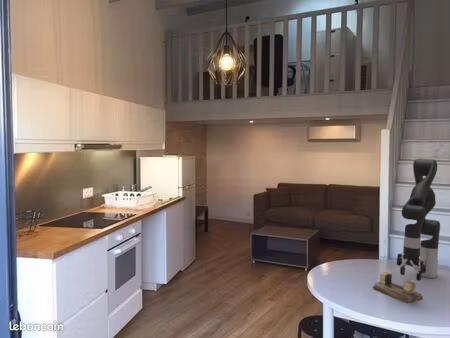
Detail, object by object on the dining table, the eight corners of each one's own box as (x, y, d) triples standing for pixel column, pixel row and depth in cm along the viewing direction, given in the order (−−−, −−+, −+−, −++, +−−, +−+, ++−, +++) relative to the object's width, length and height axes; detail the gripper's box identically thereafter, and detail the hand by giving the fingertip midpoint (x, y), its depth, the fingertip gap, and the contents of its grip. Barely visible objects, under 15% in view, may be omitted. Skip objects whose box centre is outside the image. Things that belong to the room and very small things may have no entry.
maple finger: (408, 297, 185) (409, 283, 185) (402, 295, 188) (403, 281, 188) (415, 295, 188) (416, 282, 187) (409, 293, 190) (410, 279, 190)
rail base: (388, 285, 205) (389, 269, 205) (422, 298, 188) (423, 282, 187) (373, 288, 200) (373, 273, 199) (406, 303, 182) (407, 286, 182)
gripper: (430, 248, 181) (428, 281, 183) (404, 241, 194) (402, 271, 195) (420, 250, 178) (418, 283, 179) (394, 243, 190) (392, 274, 192)
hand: (410, 277), depth 187 cm, fingers open, 8 cm apart
